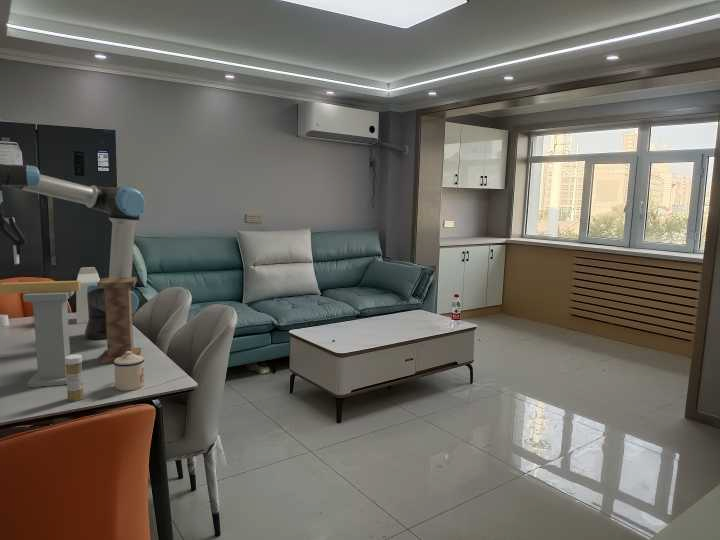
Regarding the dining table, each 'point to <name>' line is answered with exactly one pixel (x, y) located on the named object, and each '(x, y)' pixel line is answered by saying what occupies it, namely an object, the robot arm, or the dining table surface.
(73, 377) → the sprinkles bottle
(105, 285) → the walnut stand
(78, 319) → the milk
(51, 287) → the ochre bar
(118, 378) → the teacup with lid
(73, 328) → the dining table surface
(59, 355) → the grey stand
